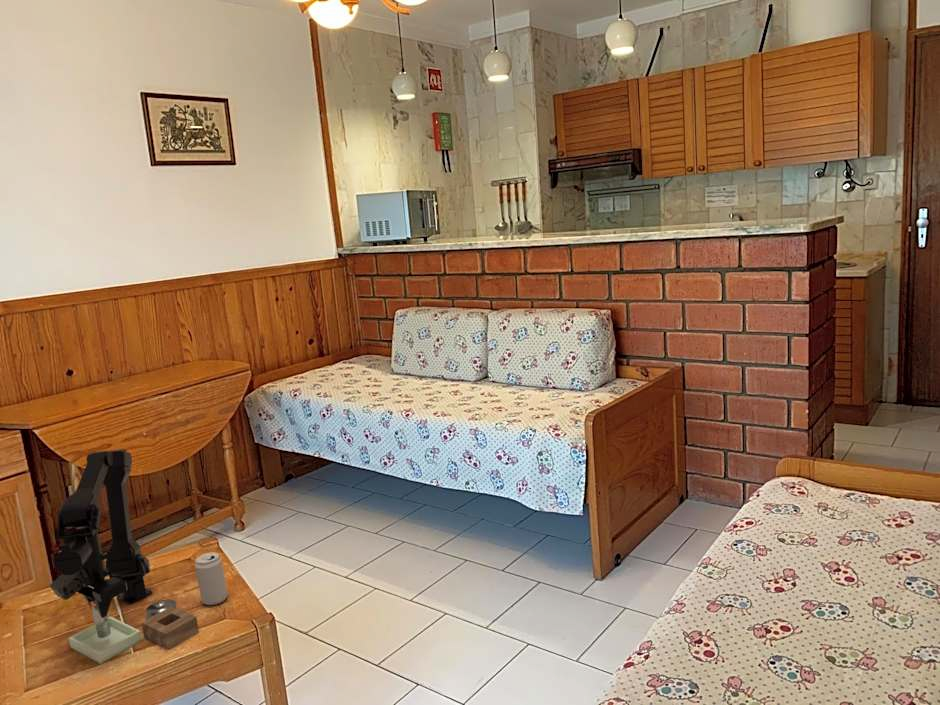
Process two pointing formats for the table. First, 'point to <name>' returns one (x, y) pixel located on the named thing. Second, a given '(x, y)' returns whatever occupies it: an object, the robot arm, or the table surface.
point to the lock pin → (100, 622)
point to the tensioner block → (170, 627)
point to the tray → (105, 641)
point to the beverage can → (211, 578)
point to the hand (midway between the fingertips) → (100, 615)
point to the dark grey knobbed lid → (159, 607)
